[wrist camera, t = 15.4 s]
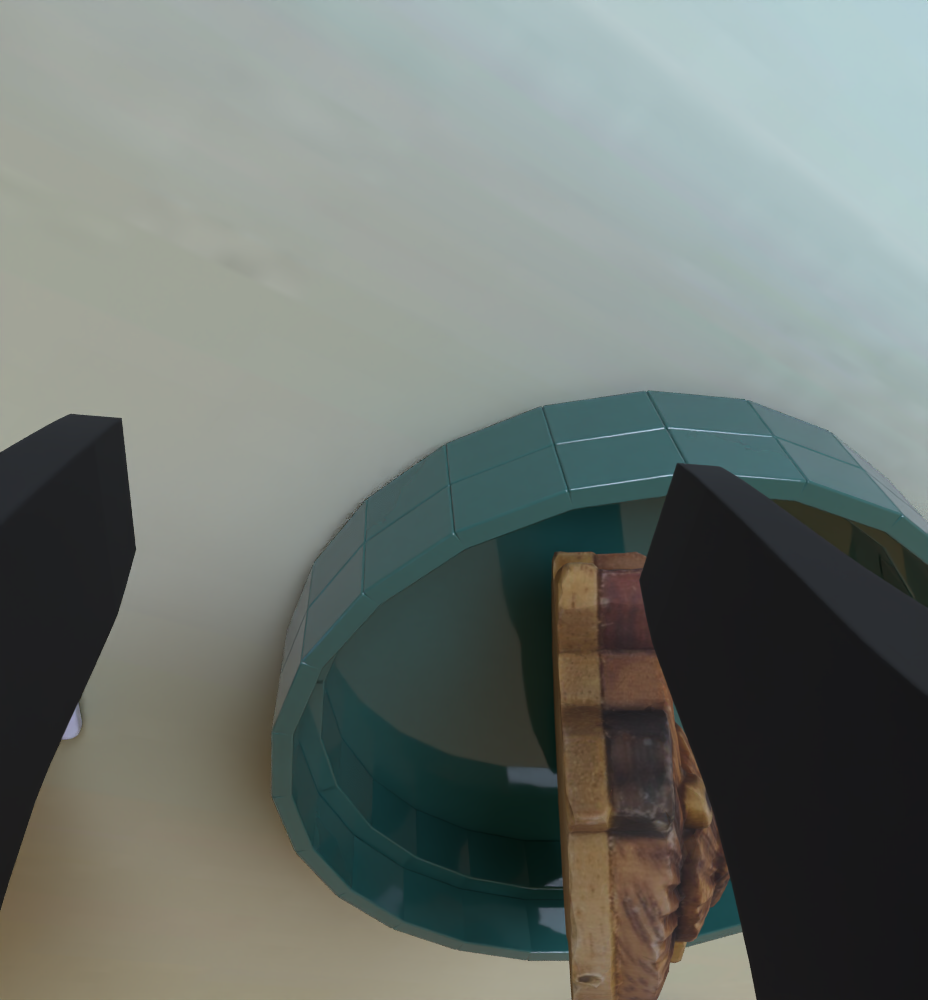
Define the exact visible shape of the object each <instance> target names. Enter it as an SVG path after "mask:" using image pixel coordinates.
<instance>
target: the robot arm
mask: <svg viewBox="0 0 928 1000" xmlns="http://www.w3.org/2000/svg"><path fill="white" fill-rule="evenodd" d="M135 551H136V546H135V536H134V527H133V518H132V509H131V500H130V491H129V481H128V472H127V463H126V454H125V445H124V436H123V426H122V418H114V417H101V416H89V415H76V414H69V415H67V416H65V417H63V418H60V419H58V420H56V421H54V422H53V423H51V424H49V425H47V426H45V427H43V428H42V429H40V430H38V431H36V432H35V433H33V434H31V435H29V436H28V437H26V438H24V439H23V440H21V441H19V442H17V443H16V444H14V445H12V446H11V447H9V448H7V449H5V450H4V451H2V452H0V910H1V906H2V903H3V900H4V896H5V893H6V890H7V887H8V883H9V880H10V877H11V874H12V871H13V868H14V865H15V862H16V859H17V856H18V853H19V850H20V846H21V843H22V840H23V837H24V834H25V831H26V828H27V825H28V822H29V819H30V816H31V813H32V810H33V807H34V804H35V801H36V798H37V796H38V793H39V791H40V788H41V786H42V783H43V781H44V778H45V776H46V773H47V771H48V768H49V766H50V763H51V761H52V759H53V757H54V755H55V752H56V750H57V748H58V746H59V744H60V742H61V739H63V740H65V739H72V738H74V737H76V736H77V735H78V734H79V732H80V729H81V727H82V718H81V713H80V707H79V700H80V698H81V695H82V693H83V691H84V689H85V687H86V684H87V682H88V680H89V678H90V676H91V674H92V671H93V669H94V667H95V665H96V662H97V660H98V658H99V656H100V653H101V651H102V649H103V647H104V644H105V642H106V640H107V638H108V636H109V633H110V631H111V629H112V626H113V624H114V622H115V619H116V617H117V614H118V611H119V608H120V604H121V601H122V598H123V594H124V591H125V588H126V584H127V581H128V577H129V573H130V570H131V566H132V562H133V559H134V555H135ZM639 582H640V587H641V593H642V598H643V603H644V608H645V614H646V618H647V623H648V627H649V631H650V636H651V640H652V644H653V647H654V650H655V653H656V655H657V658H658V661H659V664H660V667H661V669H662V672H663V675H664V678H665V680H666V683H667V686H668V689H669V691H670V694H671V697H672V699H673V702H674V705H675V707H676V710H677V713H678V715H679V718H680V721H681V723H682V726H683V729H684V731H685V734H686V737H687V739H688V742H689V745H690V747H691V750H692V753H693V755H694V758H695V761H696V763H697V766H698V769H699V771H700V774H701V777H702V779H703V782H704V785H705V788H706V791H707V794H708V798H709V801H710V804H711V807H712V810H713V813H714V816H715V820H716V824H717V828H718V832H719V836H720V840H721V844H722V848H723V852H724V855H725V859H726V863H727V867H728V871H729V875H730V879H731V883H732V887H733V892H734V896H735V900H736V905H737V909H738V914H739V918H740V923H741V927H742V932H743V936H744V940H745V945H746V949H747V954H748V958H749V963H750V968H751V973H752V978H753V983H754V988H755V994H756V999H757V1000H928V608H927V607H925V606H924V605H922V604H920V603H919V602H917V601H916V600H914V599H912V598H911V597H909V596H908V595H906V594H905V593H903V592H902V591H900V590H899V589H897V588H896V587H894V586H892V585H891V584H889V583H888V582H886V581H885V580H883V579H882V578H880V577H879V576H877V575H876V574H874V573H873V572H871V571H869V570H868V569H867V568H865V567H864V566H862V565H861V564H859V563H858V562H856V561H855V560H854V559H852V558H851V557H849V556H848V555H846V554H845V553H843V552H842V551H841V550H839V549H838V548H836V547H835V546H834V545H832V544H831V543H829V542H828V541H827V540H825V539H824V538H822V537H821V536H820V535H818V534H817V533H816V532H814V531H813V530H811V529H810V528H809V527H807V526H806V525H805V524H803V523H802V522H800V521H799V520H798V519H796V518H795V517H794V516H792V515H791V514H790V513H788V512H787V511H785V510H784V509H783V508H781V507H780V506H779V505H777V504H776V503H775V502H773V501H772V500H770V499H769V498H768V497H766V496H765V495H763V494H762V493H761V492H759V491H758V490H756V489H755V488H754V487H752V486H751V485H749V484H748V483H746V482H745V481H743V480H742V479H740V478H739V477H737V476H736V475H734V474H732V473H731V472H729V471H727V470H726V469H724V468H722V467H720V466H709V465H697V464H684V463H677V464H676V467H675V471H674V474H673V477H672V480H671V483H670V486H669V489H668V492H667V495H666V498H665V502H664V505H663V508H662V511H661V514H660V517H659V520H658V523H657V526H656V529H655V533H654V536H653V539H652V542H651V545H650V548H649V551H648V554H647V557H646V560H645V563H644V567H643V570H642V573H641V576H640V579H639Z"/></svg>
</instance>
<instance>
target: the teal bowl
mask: <svg viewBox="0 0 928 1000" xmlns="http://www.w3.org/2000/svg"><path fill="white" fill-rule="evenodd" d="M677 463H684V464H697V465H709V466H720V467H722V468H724V469H726V470H727V471H729V472H731V473H732V474H734V475H736V476H737V477H739V478H740V479H742V480H743V481H745V482H746V483H748V484H749V485H751V486H752V487H754V488H755V489H756V490H758V491H759V492H761V493H762V494H763V495H765V496H766V497H768V498H769V499H770V500H772V501H773V502H775V503H776V504H777V505H779V506H780V507H781V508H783V509H784V510H785V511H787V512H788V513H790V514H791V515H792V516H794V517H795V518H796V519H798V520H799V521H800V522H802V523H803V524H805V525H806V526H807V527H809V528H810V529H811V530H813V531H814V532H816V533H817V534H818V535H820V536H821V537H822V538H824V539H825V540H827V541H828V542H829V543H831V544H832V545H834V546H835V547H836V548H838V549H839V550H841V551H842V552H843V553H845V554H846V555H848V556H849V557H851V558H852V559H854V560H855V561H856V562H858V563H859V564H861V565H862V566H864V567H865V568H867V569H868V570H869V571H871V572H873V573H874V574H876V575H877V576H879V577H880V578H882V579H883V580H885V581H886V582H888V583H889V584H891V585H892V586H894V587H896V588H897V589H899V590H900V591H902V592H903V593H905V594H906V595H908V596H909V597H911V598H912V599H914V600H916V601H917V602H919V603H920V604H922V605H924V606H925V607H927V608H928V522H927V521H926V520H925V519H924V518H923V516H922V515H921V514H920V513H919V512H918V511H917V510H916V509H915V508H914V507H913V505H912V504H911V503H910V502H909V501H908V500H907V499H906V498H905V497H904V496H903V494H902V493H901V492H900V491H899V490H898V489H897V488H896V487H895V486H894V485H893V483H892V482H891V481H890V480H889V479H888V478H887V477H885V476H884V475H883V474H882V473H881V472H879V471H878V470H877V469H876V468H874V467H873V466H872V465H871V464H870V463H868V462H867V461H866V460H865V459H863V458H862V457H861V456H860V455H859V454H857V453H856V452H855V451H854V450H852V449H851V448H850V447H849V446H848V445H846V444H845V443H844V442H843V441H841V440H840V439H839V438H838V437H837V436H835V435H834V434H833V433H831V432H829V431H828V430H825V429H823V428H820V427H817V426H815V425H812V424H810V423H807V422H804V421H802V420H799V419H796V418H794V417H791V416H788V415H786V414H783V413H781V412H778V411H775V410H773V409H770V408H767V407H765V406H762V405H759V404H757V403H754V402H752V401H749V400H745V399H735V398H725V397H714V396H703V395H692V394H681V393H670V392H660V391H647V392H646V391H640V392H633V393H626V394H619V395H613V396H606V397H599V398H592V399H586V400H579V401H572V402H565V403H559V404H552V405H545V406H543V408H542V407H537V408H535V409H532V410H530V411H527V412H525V413H522V414H520V415H517V416H515V417H512V418H510V419H507V420H504V421H502V422H499V423H497V424H494V425H492V426H489V427H487V428H484V429H482V430H479V431H476V432H474V433H471V434H469V435H466V436H464V437H461V438H459V439H456V440H454V441H451V442H449V443H447V444H446V445H443V446H442V447H440V448H439V449H437V450H436V451H434V452H433V453H432V454H430V455H429V456H427V457H426V458H424V459H423V460H422V461H420V462H419V463H417V464H416V465H415V466H413V467H412V468H410V469H409V470H407V471H406V472H405V473H403V474H402V475H400V476H399V477H397V478H396V479H395V480H393V481H392V482H390V483H389V484H387V485H386V486H385V487H383V488H382V489H380V490H379V491H378V492H376V493H375V494H373V495H372V496H370V497H369V498H368V499H367V500H365V502H364V503H363V504H362V505H361V506H360V508H359V509H358V510H357V511H356V512H355V514H354V515H353V516H352V517H351V518H350V520H349V521H348V522H347V523H346V525H345V526H344V527H343V528H342V529H341V531H340V532H339V533H338V534H337V535H336V537H335V538H334V539H333V540H332V541H331V543H330V544H329V545H328V546H327V548H326V549H325V550H324V551H323V552H322V554H321V555H320V556H319V557H318V558H317V560H316V561H315V562H314V565H313V566H312V568H311V571H310V573H309V576H308V578H307V581H306V584H305V586H304V589H303V591H302V594H301V596H300V599H299V601H298V604H297V606H296V609H295V611H294V614H293V616H292V619H291V621H290V624H289V626H288V629H287V634H286V641H285V647H284V653H283V660H282V666H281V673H280V680H279V686H278V693H277V699H276V705H275V712H274V718H273V725H272V731H271V795H272V799H273V802H274V804H275V806H276V809H277V811H278V813H279V816H280V818H281V820H282V823H283V825H284V827H285V830H286V832H287V834H288V837H289V839H290V842H291V844H292V846H293V849H294V851H296V854H297V855H298V856H299V857H300V858H301V859H302V860H303V861H304V862H305V863H306V864H307V865H308V866H309V867H310V868H311V869H312V871H313V872H314V873H315V874H316V875H317V876H318V877H319V878H320V879H321V880H322V881H323V882H324V883H325V884H326V885H327V886H328V887H329V888H330V890H331V891H332V892H333V893H334V894H335V895H337V896H338V897H339V898H341V899H342V900H344V901H346V902H347V903H349V904H351V905H352V906H354V907H356V908H358V909H359V910H361V911H363V912H364V913H366V914H368V915H369V916H371V917H373V918H374V919H376V920H378V921H380V922H381V923H383V924H385V925H386V926H388V927H390V928H393V929H394V930H397V931H400V932H403V933H406V934H409V935H412V936H415V937H418V938H421V939H424V940H427V941H430V942H433V943H436V944H439V945H442V946H445V947H448V948H451V949H454V950H456V949H457V950H459V951H466V952H472V953H479V954H486V955H493V956H500V957H506V958H513V959H520V960H528V961H569V949H568V940H567V937H566V924H565V909H564V893H563V877H562V860H561V841H560V823H559V805H558V782H557V762H556V739H555V716H554V692H553V660H552V613H551V576H552V558H553V555H554V552H558V551H561V552H568V553H569V552H593V553H595V554H612V553H629V552H638V553H640V554H642V555H645V556H646V557H647V554H648V551H649V548H650V545H651V542H652V539H653V536H654V533H655V529H656V526H657V523H658V520H659V517H660V514H661V511H662V508H663V505H664V502H665V498H666V495H667V492H668V489H669V486H670V483H671V480H672V477H673V474H674V471H675V467H676V464H677ZM673 711H674V720H675V722H676V723H677V724H678V725H679V726H680V727H681V728H682V729H683V726H682V723H681V721H680V718H679V715H678V713H677V710H676V707H675V705H674V702H673ZM683 731H684V729H683ZM684 733H685V731H684ZM740 932H742V927H741V923H740V918H739V914H738V909H737V905H736V900H735V896H734V892H733V887H732V883H731V879H729V881H728V884H727V886H726V888H725V890H724V892H723V894H722V896H721V898H720V900H719V901H718V902H717V903H716V904H715V905H714V906H713V907H711V908H709V911H708V913H707V915H706V917H705V920H704V924H703V926H702V928H701V930H700V932H699V934H698V936H697V938H696V939H694V941H691V942H687V943H686V946H685V947H689V946H693V945H696V944H700V943H704V942H707V941H711V940H715V939H718V938H722V937H726V936H729V935H733V934H737V933H740Z"/></svg>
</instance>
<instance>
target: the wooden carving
mask: <svg viewBox="0 0 928 1000" xmlns="http://www.w3.org/2000/svg"><path fill="white" fill-rule="evenodd" d="M645 560H646V556H645V555H642V554H640V553H638V552H629V553H612V554H595V553H593V552H569V553H568V552H561V551H558V552H554V555H553V558H552V576H551V613H552V660H553V692H554V716H555V739H556V762H557V782H558V805H559V823H560V841H561V860H562V877H563V893H564V909H565V924H566V937H567V940H568V949H569V965H570V982H571V996H572V1000H657V998H658V996H659V994H660V992H661V990H662V987H663V984H664V982H665V979H666V977H667V974H668V972H669V965H670V962H671V963H676V962H679V961H681V959H682V956H683V953H684V949H685V946H686V943H687V942H691V941H694V939H696V938H697V936H698V934H699V932H700V930H701V928H702V926H703V924H704V920H705V917H706V915H707V913H708V911H709V908H711V907H713V906H714V905H715V904H716V903H717V902H718V901H719V900H720V898H721V896H722V894H723V892H724V890H725V888H726V886H727V884H728V881H729V879H730V875H729V871H728V867H727V863H726V859H725V855H724V852H723V848H722V844H721V840H720V836H719V832H718V828H717V824H716V820H715V816H714V813H713V810H712V807H711V804H710V801H709V798H708V794H707V791H706V788H705V785H704V782H703V779H702V777H701V774H700V771H699V769H698V766H697V763H696V761H695V758H694V755H693V753H692V750H691V747H690V745H689V742H688V739H687V737H686V734H685V733H684V731H683V729H682V728H681V727H680V726H679V725H678V724H677V723H676V722H675V720H674V711H673V699H672V697H671V694H670V691H669V689H668V686H667V683H666V680H665V678H664V675H663V672H662V669H661V667H660V664H659V661H658V658H657V655H656V653H655V650H654V647H653V644H652V640H651V636H650V631H649V627H648V623H647V618H646V614H645V608H644V603H643V598H642V593H641V587H640V582H639V579H640V576H641V573H642V570H643V567H644V563H645Z"/></svg>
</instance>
